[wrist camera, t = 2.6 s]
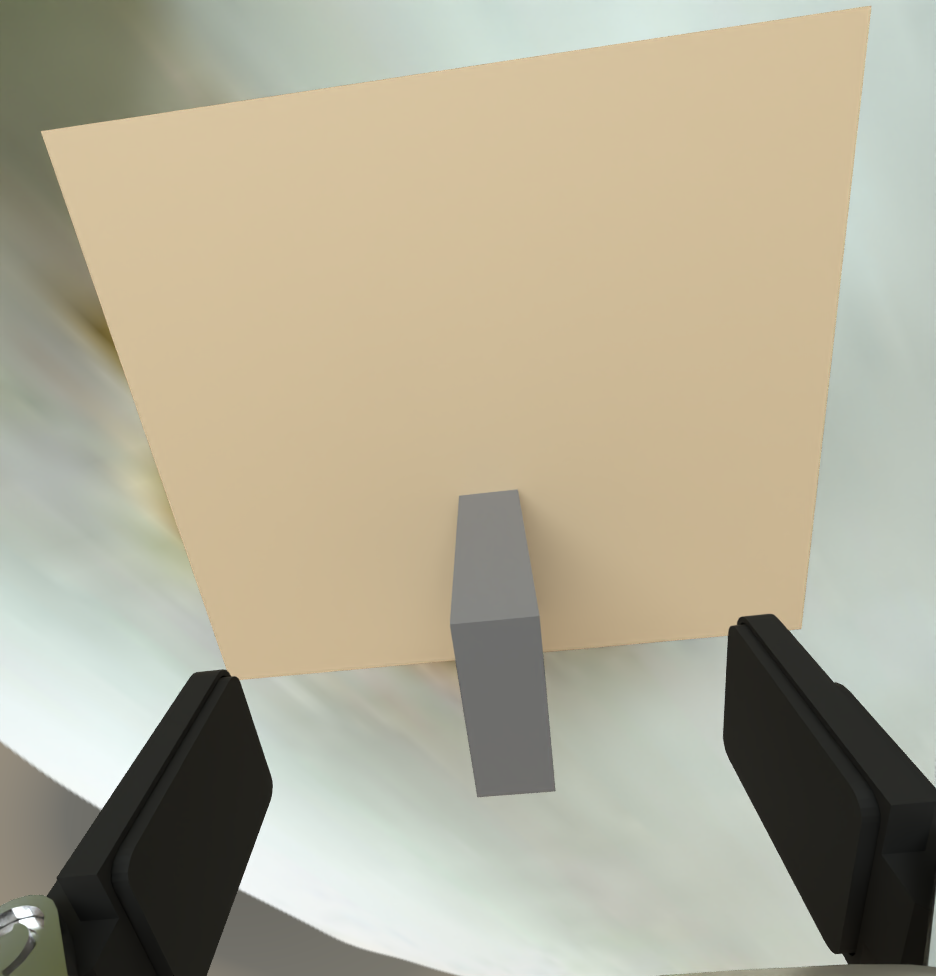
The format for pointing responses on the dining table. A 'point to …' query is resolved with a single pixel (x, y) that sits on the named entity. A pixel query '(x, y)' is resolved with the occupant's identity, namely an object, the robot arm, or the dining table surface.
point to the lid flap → (488, 352)
